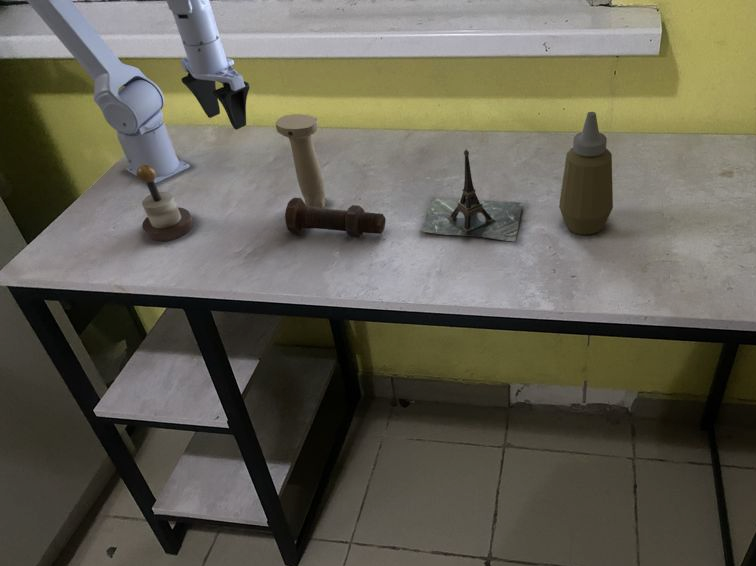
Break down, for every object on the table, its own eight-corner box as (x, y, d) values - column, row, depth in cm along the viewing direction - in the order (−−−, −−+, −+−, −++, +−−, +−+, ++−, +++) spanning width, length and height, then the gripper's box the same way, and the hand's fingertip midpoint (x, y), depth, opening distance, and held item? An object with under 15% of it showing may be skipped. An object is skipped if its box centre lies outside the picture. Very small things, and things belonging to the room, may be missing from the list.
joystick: (151, 148, 111) (107, 168, 108) (178, 162, 108) (133, 183, 104) (177, 210, 119) (136, 231, 115) (202, 225, 116) (161, 247, 112)
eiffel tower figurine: (524, 205, 114) (523, 127, 105) (515, 241, 107) (513, 161, 98) (434, 200, 117) (426, 124, 107) (419, 235, 110) (408, 157, 100)
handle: (328, 216, 115) (308, 130, 105) (293, 212, 117) (270, 127, 107) (340, 200, 119) (322, 115, 108) (306, 197, 120) (284, 112, 110)
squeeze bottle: (615, 214, 110) (626, 103, 98) (605, 243, 105) (615, 130, 93) (565, 207, 113) (569, 98, 100) (552, 236, 107) (555, 124, 95)
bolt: (384, 246, 111) (294, 238, 113) (390, 217, 112) (301, 210, 115) (375, 230, 105) (281, 222, 108) (381, 200, 107) (288, 192, 109)
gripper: (249, 39, 109) (272, 122, 118) (196, 22, 116) (221, 102, 125) (211, 54, 105) (237, 139, 114) (159, 36, 112) (187, 117, 122)
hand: (227, 121), depth 120 cm, fingers open, 7 cm apart
